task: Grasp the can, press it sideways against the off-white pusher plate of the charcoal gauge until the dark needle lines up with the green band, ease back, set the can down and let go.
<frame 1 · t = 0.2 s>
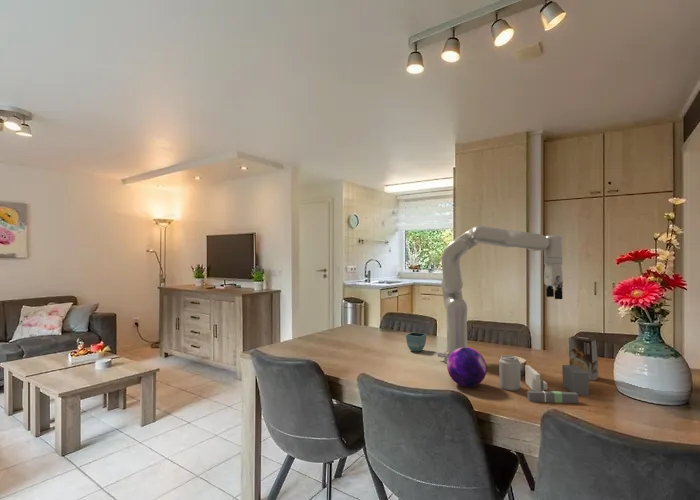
hand: (554, 297, 174), 31 cm above the table, tool pointing down, fingers open, 9 cm apart
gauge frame: (551, 389, 141), on the table
can: (510, 388, 143), on the table
flower pot: (416, 351, 203), on the table
coffee box: (584, 377, 155), on the table
pusher plate: (540, 380, 140), point 4 cm above the table, slide at 0.0 cm
decorative orb: (466, 386, 147), on the table
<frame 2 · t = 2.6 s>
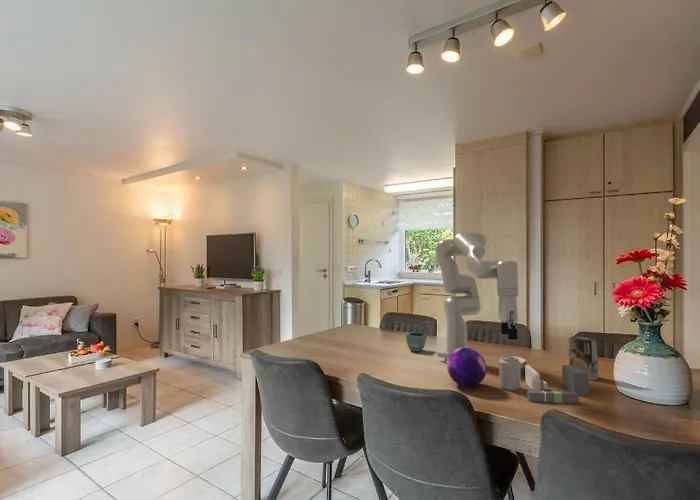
hand: (509, 336, 144), 20 cm above the table, tool pointing down, fingers open, 9 cm apart
nothing on the table moved.
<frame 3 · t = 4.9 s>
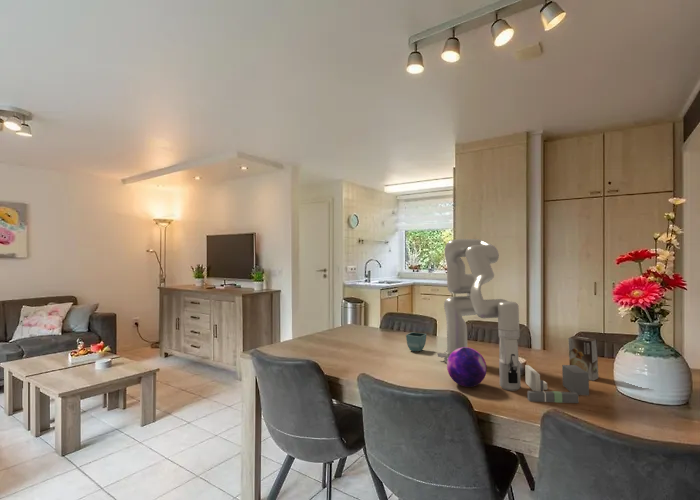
hand: (509, 379, 143), 3 cm above the table, tool pointing down, fingers closed on can, 7 cm apart
can: (510, 388, 143), on the table, touching gripper
everything else where it was.
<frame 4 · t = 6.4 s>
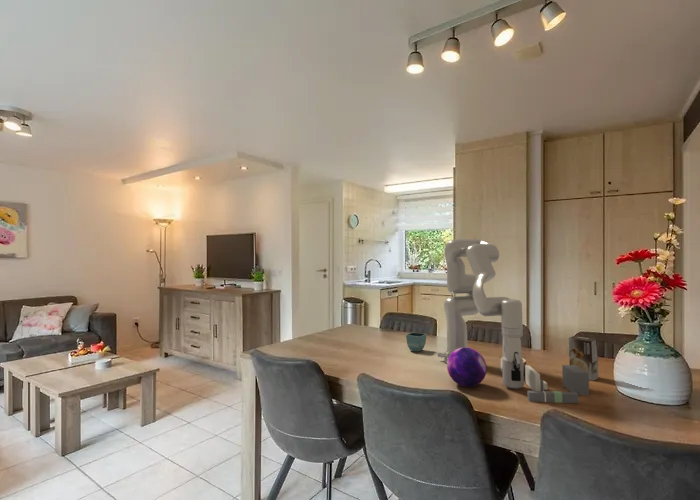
hand: (513, 376, 143), 4 cm above the table, tool pointing down, fingers closed on can, 7 cm apart
can: (513, 386, 143), point 1 cm above the table, touching gripper
everything else where it was.
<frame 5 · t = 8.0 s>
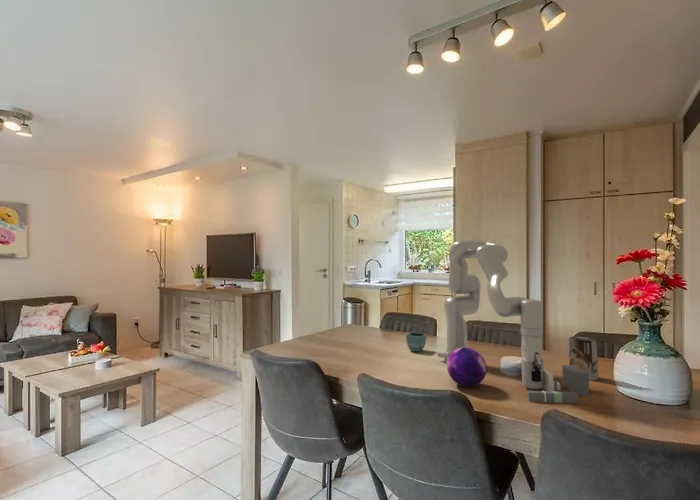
hand: (532, 377, 142), 4 cm above the table, tool pointing down, fingers closed on can, 7 cm apart
can: (532, 387, 142), point 1 cm above the table, touching gripper, pusher plate
pusher plate: (553, 381, 139), point 4 cm above the table, slide at 4.6 cm, touching can
everything else where it was.
when the fingers open (3 cm above the table, at t = 10.0 s): can stays where it is, on the table.
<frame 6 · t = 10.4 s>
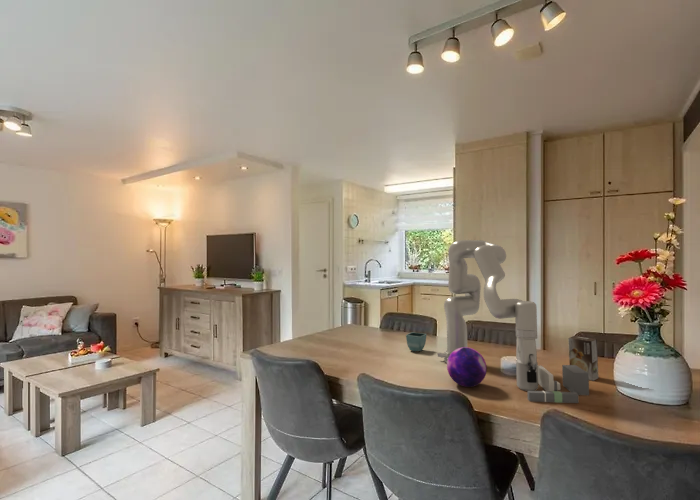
hand: (527, 378, 142), 4 cm above the table, tool pointing down, fingers open, 9 cm apart
can: (527, 389, 143), on the table
pusher plate: (553, 381, 139), point 4 cm above the table, slide at 4.6 cm
everything else where it was.
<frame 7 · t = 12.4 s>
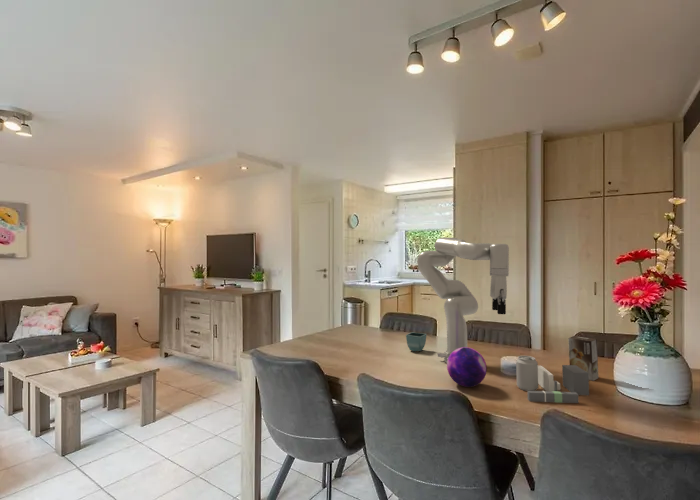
hand: (498, 312, 160), 27 cm above the table, tool pointing down, fingers open, 9 cm apart
nothing on the table moved.
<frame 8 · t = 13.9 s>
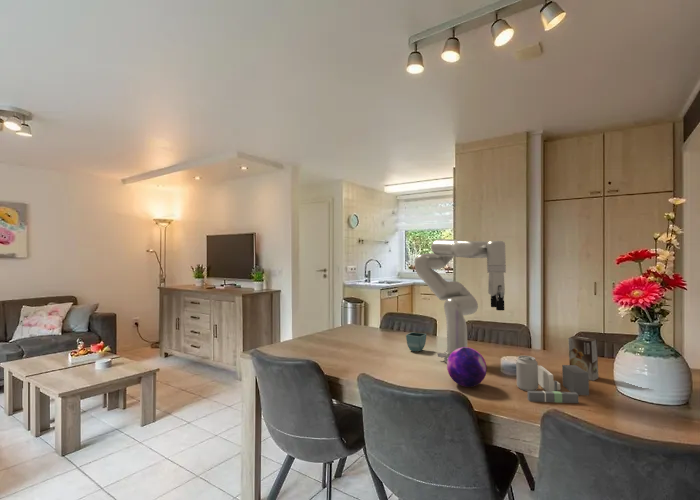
hand: (497, 308, 161), 28 cm above the table, tool pointing down, fingers open, 9 cm apart
nothing on the table moved.
at the end: pusher plate slide at 4.6 cm; the gripper is holding nothing; can tilted 0° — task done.
